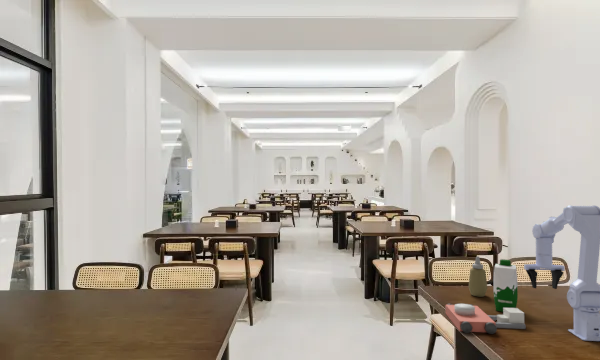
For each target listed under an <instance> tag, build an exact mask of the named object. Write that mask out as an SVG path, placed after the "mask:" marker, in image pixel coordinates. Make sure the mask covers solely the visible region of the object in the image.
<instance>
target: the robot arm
mask: <svg viewBox="0 0 600 360" xmlns="http://www.w3.org/2000/svg"><path fill="white" fill-rule="evenodd" d="M567 224H568V225H569V226H570V227H571V228H572V229H573V230H574V231H577V232H579V234H580V246H579V258H578V266H577V267H578V268H577V269H578V271H577V278H576V280H574V281H573V282H571V283H570V284H569V289H568V291H567V294H566V300H567V303H568V304H569V305H570V307H571V308H572V309H573V328H572V329H571V328H570V329H569V328H568V329H567V331H568V332H570V333H571V334H573V335H574V336H576V337H577V338H579V339H580V340H582V341H589V342H592V341H593V342H600V283H598V281H597V280H598V271H599V270H598V269H599V260H600V259H599V258H600V207H599V206H597V205H571V204H570V205H567V206H565V207H564V208H563V210H562V212H561V213H560V214H559V215H557V216H556V217H555V216H549V217H548V219H547V220H545V221H543V222H542V223H541V224H538V223H535V224H534V225H533V226H532V235H533V237H534V238H535V263H530V264H525V263H524V264H523V269H524V270H525V272H526V273H527V275H528V278H529V280H530V284H531V288H533V289H537V284H538V282H537V278H538V271H550V274H551V288H552V289H554V290H557V288H558V286H559V285H558V284H559V282H560V280H561V278H562V277H563V275H564V272H565V270H566V267H565V265H563V264H553V243H554V242H555V241H554V239H555V237H556V234H557V233H559V232H561V231H562V230H564V227H565V226H566V225H567Z"/></svg>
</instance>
